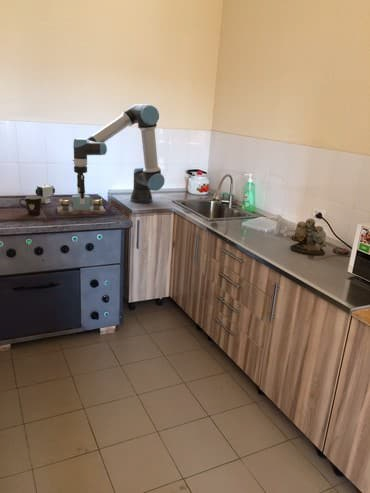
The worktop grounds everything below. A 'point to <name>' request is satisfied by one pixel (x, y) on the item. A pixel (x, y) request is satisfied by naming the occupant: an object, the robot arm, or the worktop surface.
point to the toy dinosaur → (282, 225)
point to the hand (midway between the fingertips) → (81, 201)
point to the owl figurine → (309, 238)
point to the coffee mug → (33, 205)
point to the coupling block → (77, 205)
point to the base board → (80, 211)
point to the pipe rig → (65, 204)
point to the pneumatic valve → (45, 192)
